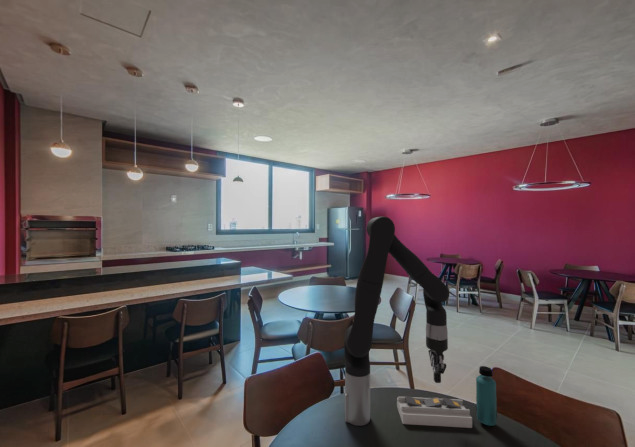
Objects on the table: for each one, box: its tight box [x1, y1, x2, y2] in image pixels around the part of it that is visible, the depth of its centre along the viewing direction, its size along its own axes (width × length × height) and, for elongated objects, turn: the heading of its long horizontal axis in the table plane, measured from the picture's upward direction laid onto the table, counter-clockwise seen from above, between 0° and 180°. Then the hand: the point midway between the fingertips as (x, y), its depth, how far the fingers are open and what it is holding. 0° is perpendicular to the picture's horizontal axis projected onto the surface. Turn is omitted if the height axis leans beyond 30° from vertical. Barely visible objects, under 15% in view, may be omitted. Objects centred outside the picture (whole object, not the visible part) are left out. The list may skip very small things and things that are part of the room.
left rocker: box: [404, 395, 422, 407], centre depth 107 cm, size 5×4×1 cm
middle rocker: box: [424, 396, 442, 408], centre depth 106 cm, size 5×4×1 cm
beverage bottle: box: [475, 365, 498, 427], centre depth 102 cm, size 6×7×20 cm
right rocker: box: [442, 396, 462, 409], centre depth 106 cm, size 5×4×1 cm
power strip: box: [396, 396, 473, 429], centre depth 106 cm, size 24×10×5 cm, turn 86°
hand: (437, 381), depth 106 cm, fingers closed
